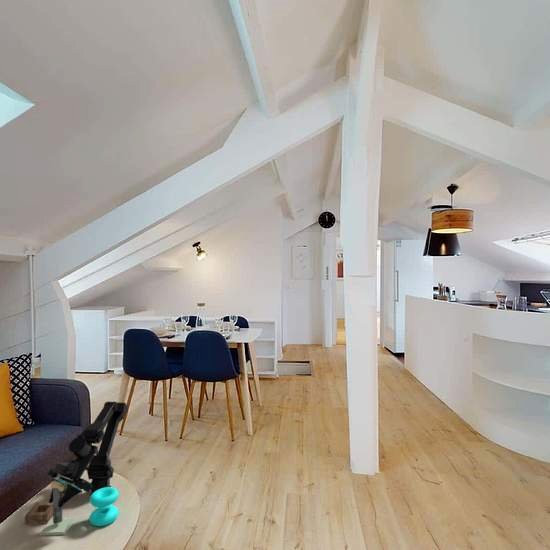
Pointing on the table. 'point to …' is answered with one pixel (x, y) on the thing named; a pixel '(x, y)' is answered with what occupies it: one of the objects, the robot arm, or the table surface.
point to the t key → (57, 501)
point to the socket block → (39, 513)
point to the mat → (57, 527)
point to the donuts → (104, 506)
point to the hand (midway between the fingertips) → (54, 504)
